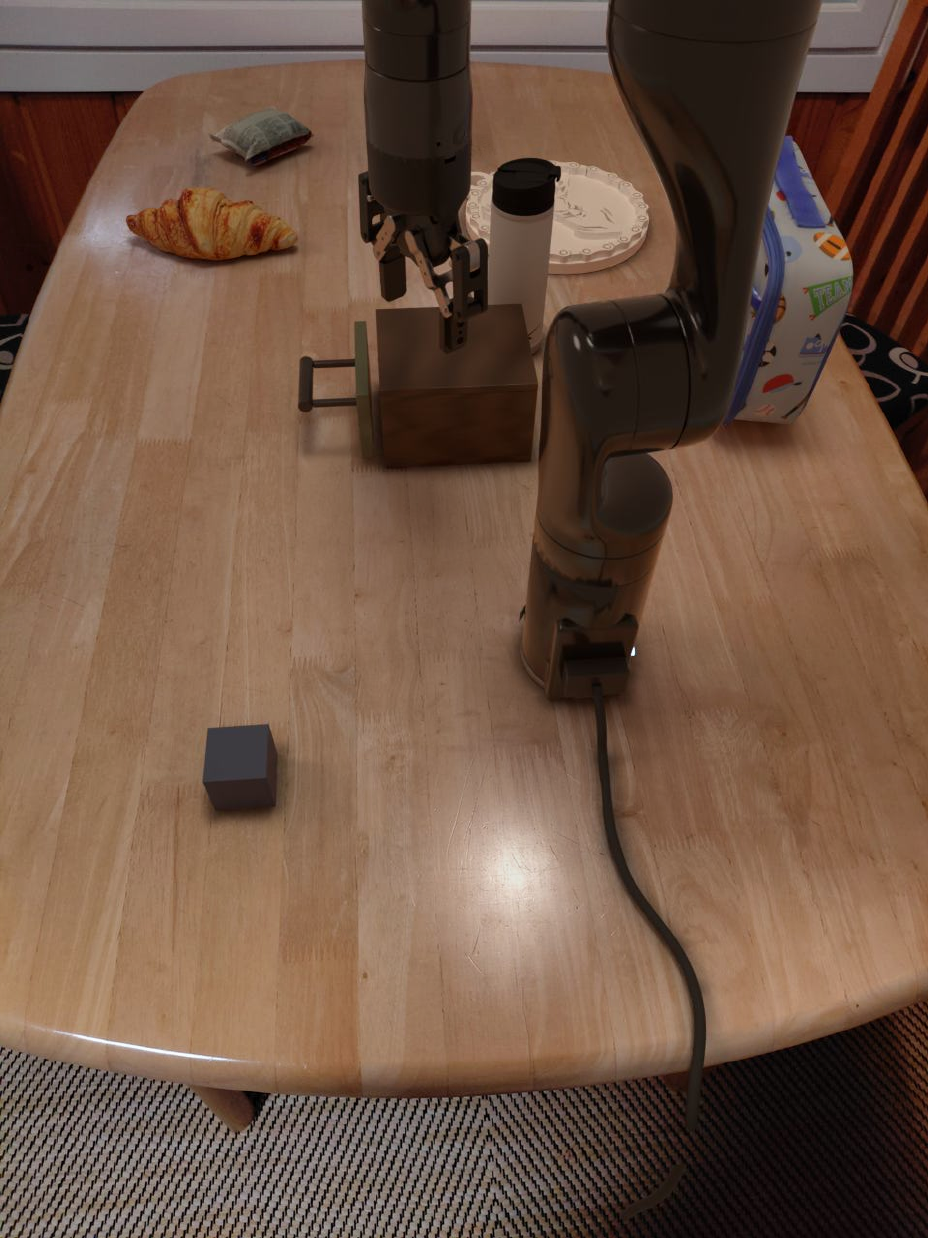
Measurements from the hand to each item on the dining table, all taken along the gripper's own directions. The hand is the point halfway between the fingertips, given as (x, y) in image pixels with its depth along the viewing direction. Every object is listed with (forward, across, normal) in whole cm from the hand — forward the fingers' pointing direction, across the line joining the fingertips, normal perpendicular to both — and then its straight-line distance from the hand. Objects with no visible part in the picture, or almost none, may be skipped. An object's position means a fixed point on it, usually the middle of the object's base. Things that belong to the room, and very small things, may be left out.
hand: (422, 322), depth 79 cm
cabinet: (+17, -4, +6) cm, 19 cm away
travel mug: (+18, -11, +20) cm, 29 cm away
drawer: (+16, -7, +2) cm, 18 cm away
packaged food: (+19, -66, +19) cm, 71 cm away
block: (+16, +20, -31) cm, 40 cm away
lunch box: (+18, +6, +37) cm, 41 cm away
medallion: (+18, -29, +40) cm, 52 cm away
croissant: (+18, -48, +2) cm, 51 cm away
